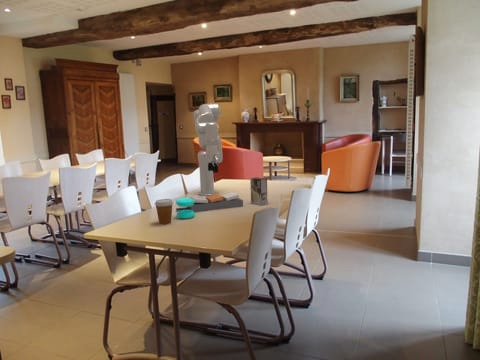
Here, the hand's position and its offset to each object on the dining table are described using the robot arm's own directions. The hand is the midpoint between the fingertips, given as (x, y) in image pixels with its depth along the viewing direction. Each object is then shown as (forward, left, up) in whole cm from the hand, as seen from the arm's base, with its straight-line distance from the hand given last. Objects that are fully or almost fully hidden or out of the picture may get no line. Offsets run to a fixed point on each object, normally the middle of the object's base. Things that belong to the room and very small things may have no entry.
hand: (213, 171), depth 243 cm
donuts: (+17, -22, -22) cm, 35 cm away
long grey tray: (+2, -4, -22) cm, 22 cm away
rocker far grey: (+2, +10, -17) cm, 20 cm away
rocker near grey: (+2, -10, -17) cm, 20 cm away
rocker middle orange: (+2, 0, -17) cm, 17 cm away
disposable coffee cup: (+24, -35, -22) cm, 48 cm away
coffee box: (+6, +28, -22) cm, 36 cm away
